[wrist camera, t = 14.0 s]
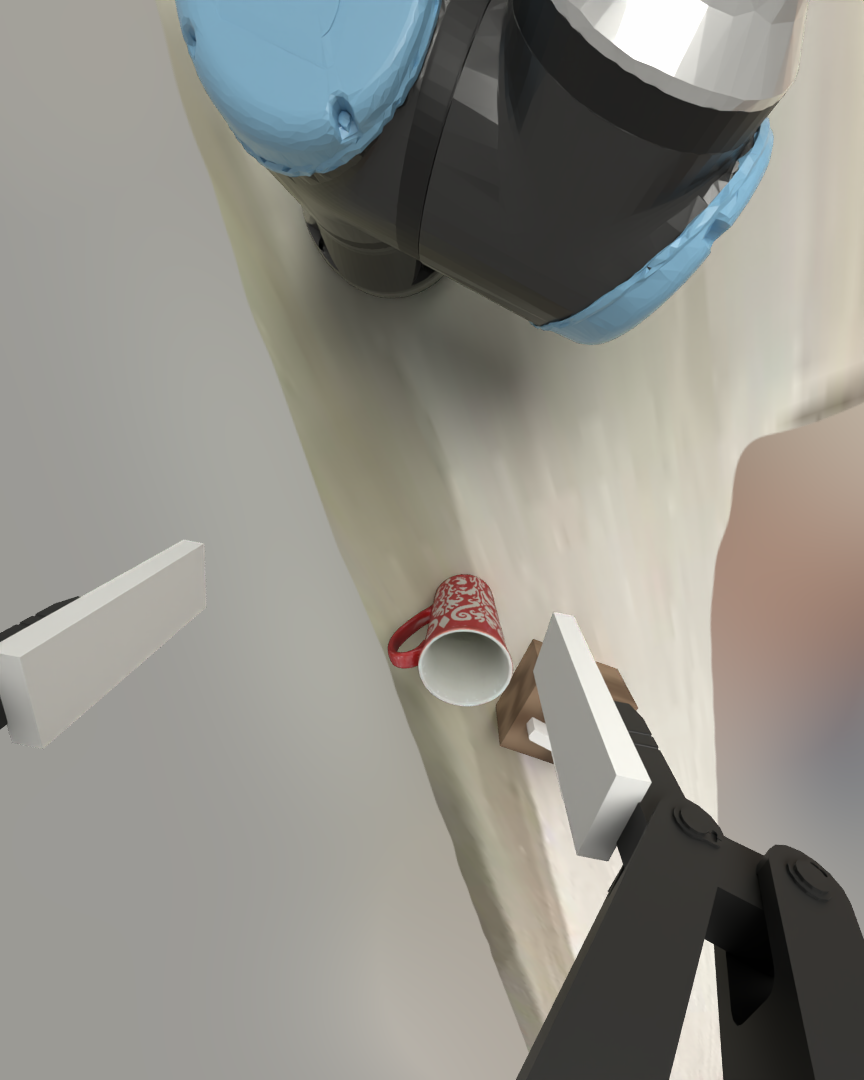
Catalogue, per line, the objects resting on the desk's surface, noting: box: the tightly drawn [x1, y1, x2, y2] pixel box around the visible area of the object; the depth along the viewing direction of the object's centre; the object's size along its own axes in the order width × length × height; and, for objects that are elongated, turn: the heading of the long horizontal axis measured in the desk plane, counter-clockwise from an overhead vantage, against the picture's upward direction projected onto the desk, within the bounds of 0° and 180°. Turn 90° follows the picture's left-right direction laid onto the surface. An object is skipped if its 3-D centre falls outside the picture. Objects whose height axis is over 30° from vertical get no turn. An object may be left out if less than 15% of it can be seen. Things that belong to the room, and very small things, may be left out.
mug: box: [388, 574, 513, 706], centre depth 45 cm, size 13×9×14 cm
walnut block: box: [496, 639, 638, 764], centre depth 52 cm, size 12×12×7 cm
